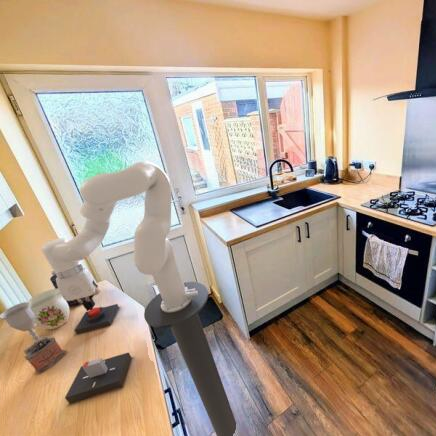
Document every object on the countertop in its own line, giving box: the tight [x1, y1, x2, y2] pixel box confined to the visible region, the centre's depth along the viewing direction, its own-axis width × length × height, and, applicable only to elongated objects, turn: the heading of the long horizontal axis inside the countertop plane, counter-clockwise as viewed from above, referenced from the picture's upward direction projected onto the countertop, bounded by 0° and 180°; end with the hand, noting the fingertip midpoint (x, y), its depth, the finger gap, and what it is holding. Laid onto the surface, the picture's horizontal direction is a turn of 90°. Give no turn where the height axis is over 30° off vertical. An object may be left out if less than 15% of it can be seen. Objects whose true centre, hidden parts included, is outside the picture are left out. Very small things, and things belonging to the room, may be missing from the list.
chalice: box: [0, 301, 43, 344], centre depth 89 cm, size 7×7×18 cm
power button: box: [87, 306, 101, 317], centre depth 99 cm, size 4×4×2 cm
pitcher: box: [26, 288, 71, 330], centre depth 99 cm, size 11×18×14 cm, turn 137°
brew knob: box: [82, 357, 108, 378], centre depth 75 cm, size 4×2×5 cm, turn 106°
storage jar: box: [49, 274, 83, 308], centre depth 112 cm, size 10×10×15 cm
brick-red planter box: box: [23, 335, 66, 374], centre depth 83 cm, size 8×3×10 cm, turn 159°
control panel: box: [64, 352, 133, 405], centre depth 77 cm, size 14×10×3 cm
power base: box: [73, 303, 120, 335], centre depth 100 cm, size 12×10×4 cm
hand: (91, 307), depth 98 cm, fingers closed
